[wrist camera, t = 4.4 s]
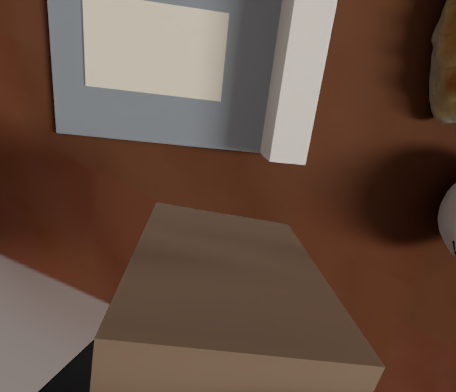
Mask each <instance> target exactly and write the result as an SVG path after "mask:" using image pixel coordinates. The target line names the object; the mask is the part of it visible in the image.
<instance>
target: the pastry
mask: <svg viewBox="0 0 456 392" xmlns="http://www.w3.org/2000/svg"><path fill="white" fill-rule="evenodd" d="M431 43H432V45H433V51H432V56H431V70H430V78H429V101H430V105H431V111H432V113H433V116H434V118H435V119H436V120H437V121H439V122H441V123H456V0H446V3H445V5H444V7H443V10H442V13H441V16H440V19H439V22H438V23H437V25H436V27H435V29H434V32H433V34H432V38H431Z"/></svg>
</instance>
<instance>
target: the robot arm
mask: <svg viewBox="0 0 456 392" xmlns="http://www.w3.org/2000/svg"><path fill="white" fill-rule="evenodd" d="M93 349H94V340H93V341H92V342H91V343H90V344H89V345H88V346H87V347H86V348H85V349H84V350H82V351H81V352H80V353H79V354H78V355H77V356H76V357H75V358H74V359H73V360H72V361H71V362H69V363H68V364H67V365H66V366H65V367H64V368H63V369H62V370H61V371H60V372H59V373H58V374H57V375H56V376H54V377H53V378H52V379H51V380H50V381H49V382H48V383H47V384H46V385H45V386H44V387H43V388H42V389H41V390H39V391H38V392H90V382H91V371H92V360H93Z"/></svg>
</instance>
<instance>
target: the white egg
mask: <svg viewBox="0 0 456 392" xmlns="http://www.w3.org/2000/svg"><path fill="white" fill-rule="evenodd" d="M437 219H438V228H439V232H440V234H441V236H442V238H443V240H444V242H445V244H446V246H447V248H448V249H449V251H450V253H452V254H453V255H454V256H455V257H456V183H455V184H454V185H453V186H452V187H451V188H450V189H449V190H448V191H447V193H446V195H445V197H444V199H443V200H442V202H441V204H440V208H439V213H438V217H437Z"/></svg>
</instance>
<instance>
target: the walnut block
mask: <svg viewBox="0 0 456 392" xmlns="http://www.w3.org/2000/svg"><path fill="white" fill-rule="evenodd" d="M384 369H385V366H384V365H383V363H382V362H381V360H380V359H379V357H378V356H377V354H376V353H375V352H374V350H373V349H372V347H371V346H370V344H369V343H368V341H367V340H366V338H365V337H364V335H363V334H362V332H361V331H360V330H359V328H358V327H357V325H356V324H355V322H354V321H353V319H352V318H351V316H350V315H349V313H348V312H347V310H346V309H345V307H344V306H343V305H342V303H341V302H340V300H339V299H338V297H337V296H336V294H335V293H334V291H333V290H332V288H331V287H330V285H329V284H328V283H327V281H326V280H325V278H324V277H323V275H322V274H321V272H320V271H319V269H318V268H317V266H316V265H315V263H314V262H313V261H312V259H311V258H310V256H309V255H308V253H307V252H306V250H305V249H304V247H303V246H302V244H301V243H300V241H299V240H298V239H297V237H296V236H295V234H294V233H293V231H292V230H291V228H290V227H289V225H288V224H282V223H276V222H270V221H264V220H258V219H252V218H246V217H240V216H234V215H228V214H222V213H216V212H210V211H204V210H199V209H193V208H187V207H181V206H175V205H169V204H163V203H157V202H156V205H155V207H154V209H153V211H152V213H151V215H150V218H149V220H148V222H147V224H146V226H145V229H144V231H143V233H142V235H141V237H140V240H139V242H138V244H137V246H136V248H135V251H134V253H133V255H132V257H131V259H130V262H129V264H128V266H127V268H126V270H125V273H124V275H123V277H122V279H121V281H120V284H119V286H118V288H117V290H116V292H115V295H114V297H113V299H112V301H111V303H110V306H109V308H108V310H107V312H106V314H105V316H104V319H103V321H102V323H101V325H100V328H99V330H98V332H97V334H96V336H95V339H94V349H93V360H92V371H91V382H90V392H374V390H375V387H376V385H377V383H378V381H379V379H380V377H381V375H382V373H383V371H384Z"/></svg>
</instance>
